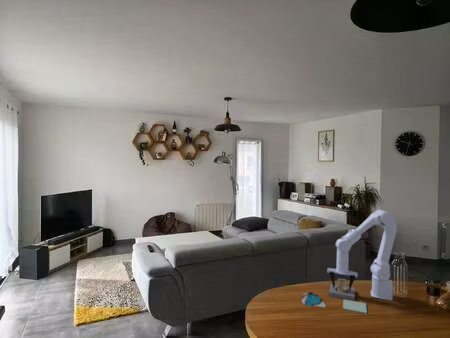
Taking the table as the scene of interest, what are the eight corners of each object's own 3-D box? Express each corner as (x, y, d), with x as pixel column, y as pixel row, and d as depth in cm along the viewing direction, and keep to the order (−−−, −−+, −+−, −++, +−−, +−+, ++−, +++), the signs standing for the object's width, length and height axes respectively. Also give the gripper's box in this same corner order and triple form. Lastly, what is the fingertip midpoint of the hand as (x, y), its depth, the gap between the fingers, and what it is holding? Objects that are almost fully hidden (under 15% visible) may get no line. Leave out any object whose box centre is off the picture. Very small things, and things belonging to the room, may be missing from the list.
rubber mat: (365, 304, 142) (365, 303, 142) (366, 313, 133) (366, 312, 133) (343, 300, 146) (343, 299, 146) (342, 309, 136) (342, 308, 136)
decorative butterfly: (297, 290, 148) (316, 285, 148) (300, 302, 148) (319, 298, 148) (302, 299, 138) (323, 294, 138) (305, 312, 138) (326, 307, 138)
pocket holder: (354, 291, 157) (354, 287, 157) (354, 300, 146) (354, 296, 146) (330, 287, 161) (330, 283, 161) (328, 296, 150) (328, 292, 150)
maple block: (346, 292, 155) (346, 279, 155) (346, 296, 151) (346, 282, 151) (337, 291, 156) (337, 278, 156) (337, 294, 152) (337, 281, 152)
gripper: (327, 262, 153) (326, 288, 153) (357, 266, 147) (357, 293, 147) (328, 258, 159) (327, 283, 159) (357, 262, 153) (356, 288, 153)
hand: (341, 288), depth 153 cm, fingers open, 7 cm apart
